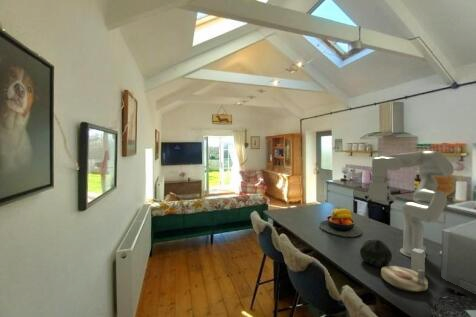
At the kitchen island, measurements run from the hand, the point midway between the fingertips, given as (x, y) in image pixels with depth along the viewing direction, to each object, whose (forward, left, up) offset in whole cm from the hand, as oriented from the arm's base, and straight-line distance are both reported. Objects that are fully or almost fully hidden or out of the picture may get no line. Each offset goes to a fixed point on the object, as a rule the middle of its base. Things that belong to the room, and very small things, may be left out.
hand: (378, 209), depth 129 cm
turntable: (+8, +20, -28) cm, 35 cm away
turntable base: (+8, +20, -30) cm, 37 cm away
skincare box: (-8, +17, -30) cm, 35 cm away
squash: (+3, +1, -30) cm, 30 cm away
